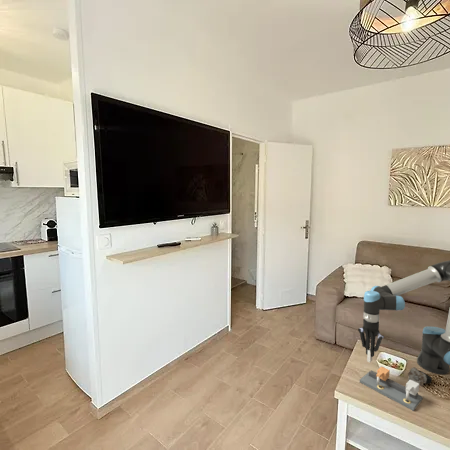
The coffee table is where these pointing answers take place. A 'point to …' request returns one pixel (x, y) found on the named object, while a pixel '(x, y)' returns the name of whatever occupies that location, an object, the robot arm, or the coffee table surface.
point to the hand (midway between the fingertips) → (369, 360)
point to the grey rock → (419, 376)
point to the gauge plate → (394, 390)
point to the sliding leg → (382, 374)
